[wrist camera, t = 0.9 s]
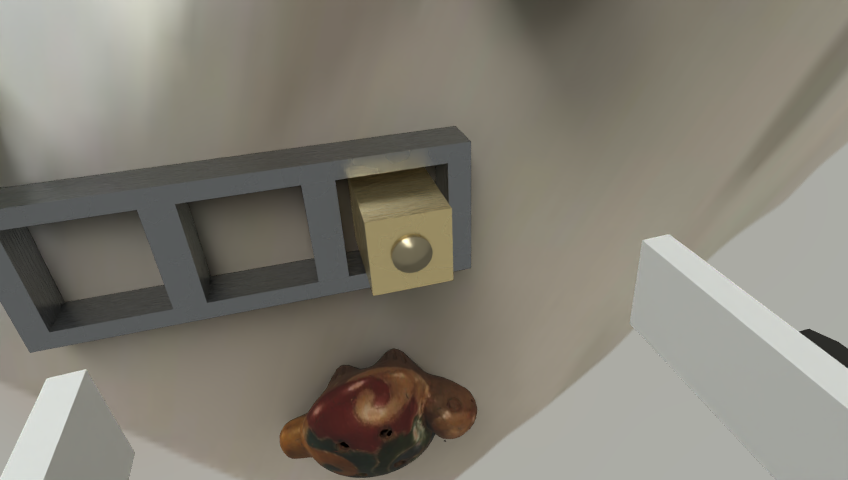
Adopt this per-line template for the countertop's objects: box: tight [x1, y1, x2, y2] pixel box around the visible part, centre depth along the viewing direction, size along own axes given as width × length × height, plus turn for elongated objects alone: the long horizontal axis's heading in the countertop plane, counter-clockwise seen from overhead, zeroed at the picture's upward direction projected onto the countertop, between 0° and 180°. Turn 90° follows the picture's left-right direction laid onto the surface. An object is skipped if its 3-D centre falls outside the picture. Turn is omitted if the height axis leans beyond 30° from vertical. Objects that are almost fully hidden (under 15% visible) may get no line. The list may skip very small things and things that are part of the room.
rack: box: [0, 126, 471, 353], centre depth 34 cm, size 9×28×3 cm, turn 93°
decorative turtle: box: [280, 349, 477, 478], centre depth 42 cm, size 10×15×8 cm, turn 110°
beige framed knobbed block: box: [348, 167, 453, 296], centre depth 34 cm, size 5×5×7 cm
